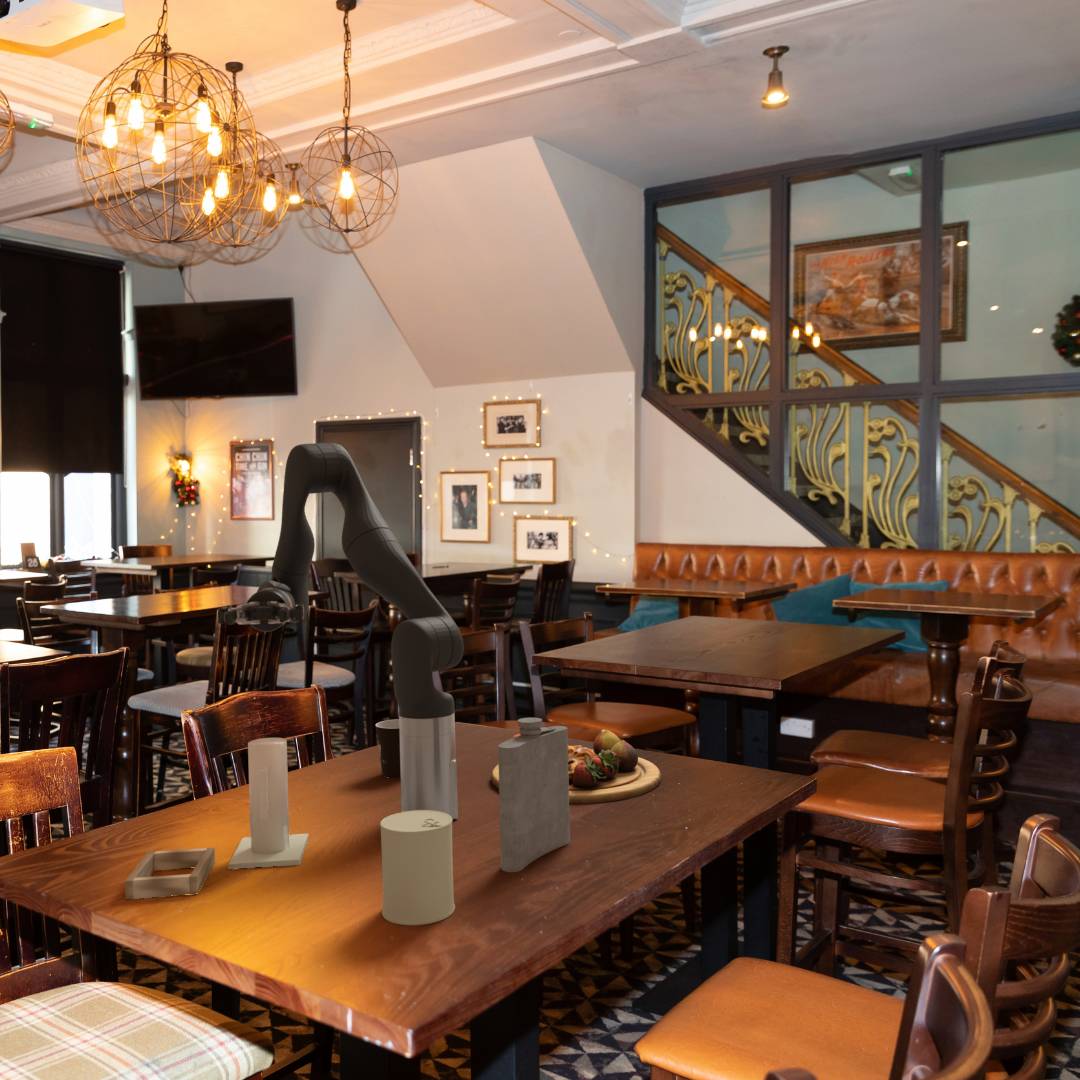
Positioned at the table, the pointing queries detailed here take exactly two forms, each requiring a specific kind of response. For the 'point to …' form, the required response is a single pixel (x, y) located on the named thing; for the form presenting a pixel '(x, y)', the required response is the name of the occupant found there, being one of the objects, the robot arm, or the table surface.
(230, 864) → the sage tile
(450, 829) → the can
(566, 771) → the hip flask
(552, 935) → the table surface
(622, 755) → the wooden plate with food
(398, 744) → the coffee mug
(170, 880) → the collar
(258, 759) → the cream jug
